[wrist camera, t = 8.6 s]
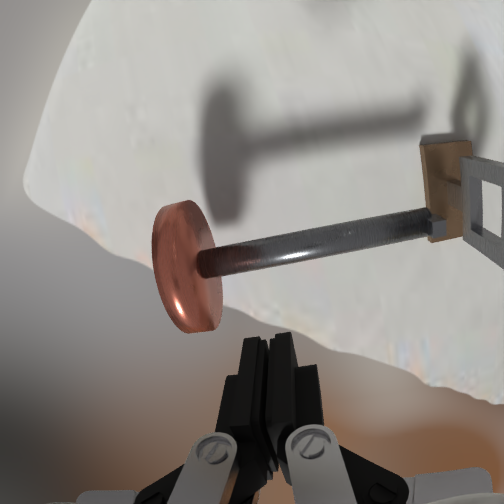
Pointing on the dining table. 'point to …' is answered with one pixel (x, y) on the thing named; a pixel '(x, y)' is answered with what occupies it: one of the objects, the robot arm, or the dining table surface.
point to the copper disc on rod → (255, 254)
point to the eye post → (462, 194)
